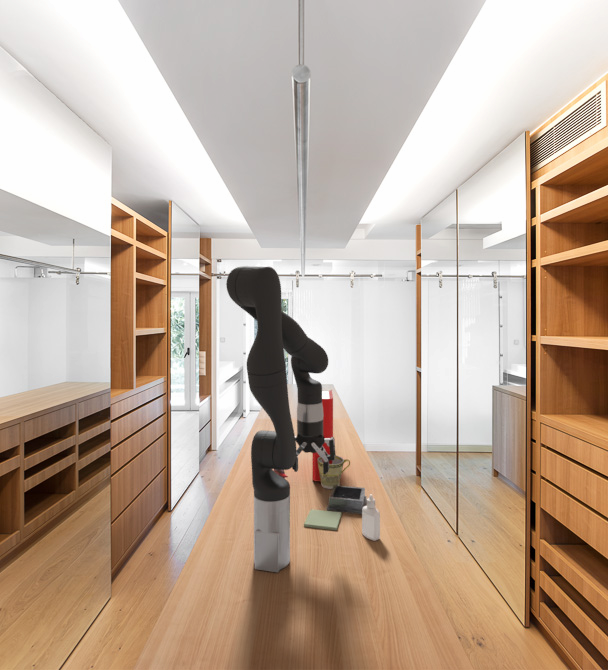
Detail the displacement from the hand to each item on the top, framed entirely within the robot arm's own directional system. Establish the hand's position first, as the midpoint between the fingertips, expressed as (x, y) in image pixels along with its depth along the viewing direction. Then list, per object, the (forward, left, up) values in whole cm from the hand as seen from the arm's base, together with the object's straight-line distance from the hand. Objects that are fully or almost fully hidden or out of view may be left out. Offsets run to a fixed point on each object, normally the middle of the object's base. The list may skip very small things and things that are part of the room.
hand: (310, 472), depth 113 cm
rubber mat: (+9, -2, -18) cm, 20 cm away
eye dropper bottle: (+3, -17, -18) cm, 25 cm away
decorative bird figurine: (+33, +19, -18) cm, 42 cm away
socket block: (+22, -8, -18) cm, 30 cm away
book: (+52, +6, -18) cm, 56 cm away
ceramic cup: (+37, -1, -18) cm, 42 cm away
